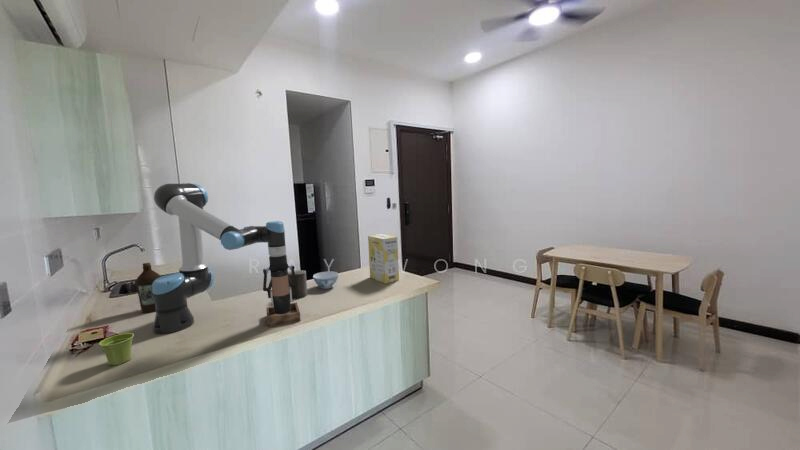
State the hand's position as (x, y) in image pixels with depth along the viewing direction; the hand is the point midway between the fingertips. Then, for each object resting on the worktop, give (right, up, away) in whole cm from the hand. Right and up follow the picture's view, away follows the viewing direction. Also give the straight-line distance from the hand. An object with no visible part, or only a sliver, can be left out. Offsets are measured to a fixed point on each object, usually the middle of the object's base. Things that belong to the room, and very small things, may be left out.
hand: (281, 302), depth 146 cm
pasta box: (+45, +1, +57) cm, 73 cm away
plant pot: (-47, -14, -32) cm, 59 cm away
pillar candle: (-2, -4, +31) cm, 32 cm away
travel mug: (0, -4, 0) cm, 4 cm away
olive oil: (-75, -8, +18) cm, 77 cm away
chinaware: (+10, -2, +44) cm, 46 cm away
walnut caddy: (0, -8, +1) cm, 8 cm away
